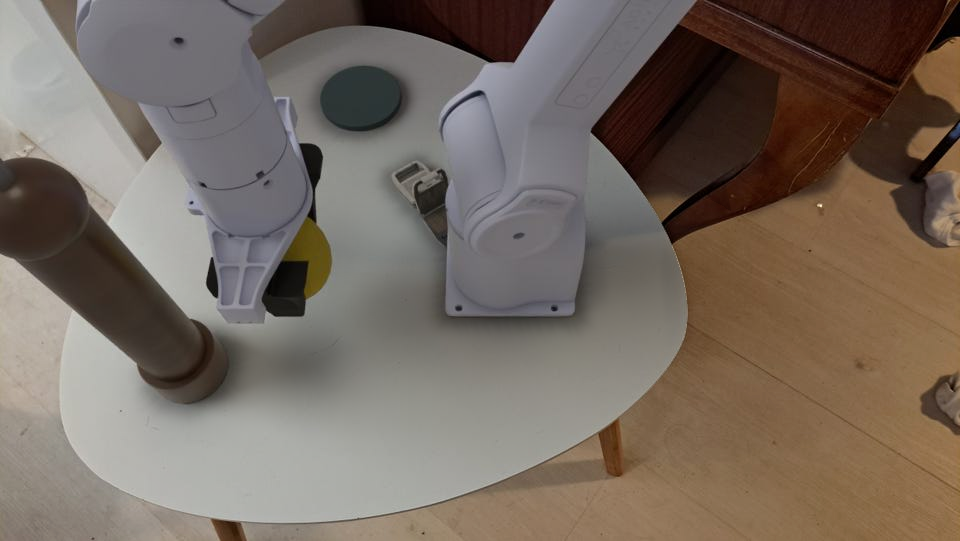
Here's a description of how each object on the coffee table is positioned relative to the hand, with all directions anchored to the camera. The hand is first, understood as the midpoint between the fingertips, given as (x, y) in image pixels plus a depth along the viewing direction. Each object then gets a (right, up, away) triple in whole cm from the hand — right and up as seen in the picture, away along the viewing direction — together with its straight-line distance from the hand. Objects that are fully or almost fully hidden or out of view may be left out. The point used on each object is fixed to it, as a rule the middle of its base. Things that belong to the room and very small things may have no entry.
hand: (295, 270), depth 49 cm
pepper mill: (-8, -7, +2) cm, 11 cm away
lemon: (0, -1, +2) cm, 2 cm away
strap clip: (+9, +5, +9) cm, 14 cm away
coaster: (+2, +15, +14) cm, 21 cm away
